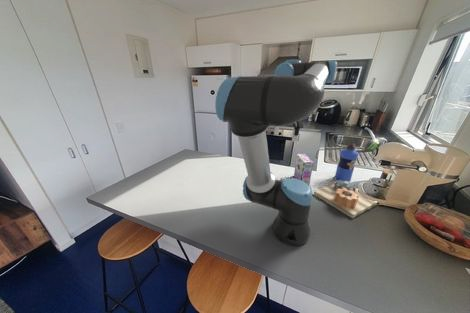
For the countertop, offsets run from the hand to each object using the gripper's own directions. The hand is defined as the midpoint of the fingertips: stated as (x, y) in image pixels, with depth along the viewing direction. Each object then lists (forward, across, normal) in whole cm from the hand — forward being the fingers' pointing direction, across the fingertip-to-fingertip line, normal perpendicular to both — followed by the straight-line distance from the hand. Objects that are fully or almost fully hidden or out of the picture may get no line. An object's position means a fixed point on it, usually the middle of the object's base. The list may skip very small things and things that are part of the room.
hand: (284, 137), depth 94 cm
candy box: (+32, 0, -18) cm, 37 cm away
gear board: (+32, -25, -25) cm, 47 cm away
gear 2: (+30, -28, -19) cm, 45 cm away
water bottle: (+32, -11, -44) cm, 55 cm away
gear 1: (+30, -22, -28) cm, 46 cm away
